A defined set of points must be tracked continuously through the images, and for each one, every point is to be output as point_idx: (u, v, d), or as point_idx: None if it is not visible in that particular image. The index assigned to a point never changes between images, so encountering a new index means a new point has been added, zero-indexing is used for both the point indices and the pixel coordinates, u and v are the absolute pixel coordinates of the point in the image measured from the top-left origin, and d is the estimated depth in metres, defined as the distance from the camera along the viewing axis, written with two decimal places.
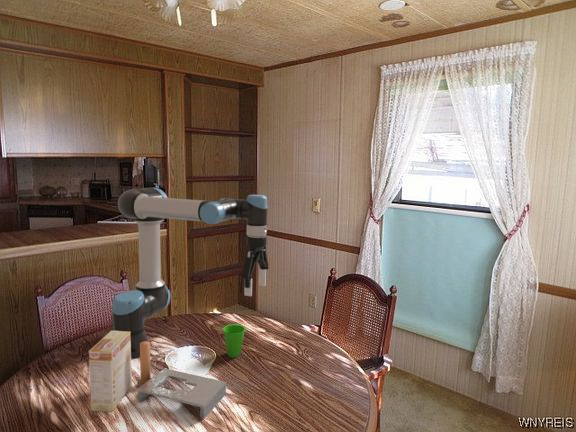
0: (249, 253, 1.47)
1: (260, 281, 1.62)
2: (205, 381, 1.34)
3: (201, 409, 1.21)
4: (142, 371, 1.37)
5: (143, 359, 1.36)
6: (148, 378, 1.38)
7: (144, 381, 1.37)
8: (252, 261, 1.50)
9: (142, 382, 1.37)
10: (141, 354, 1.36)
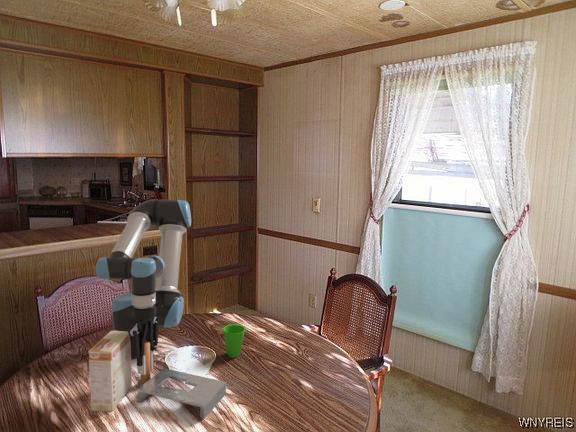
0: (131, 333, 1.30)
1: None
2: (205, 381, 1.34)
3: (201, 409, 1.21)
4: None
5: None
6: (148, 378, 1.38)
7: (144, 381, 1.37)
8: (140, 336, 1.34)
9: (142, 382, 1.37)
10: None
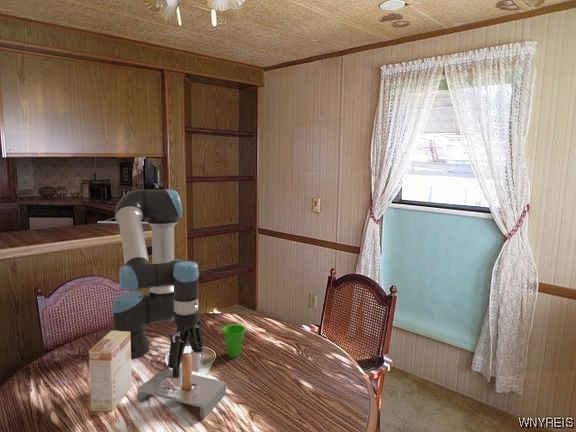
0: (173, 338, 1.22)
1: (192, 366, 1.35)
2: (205, 381, 1.34)
3: (201, 409, 1.21)
4: (183, 385, 1.29)
5: (185, 372, 1.28)
6: None
7: None
8: (180, 344, 1.25)
9: None
10: (183, 367, 1.28)
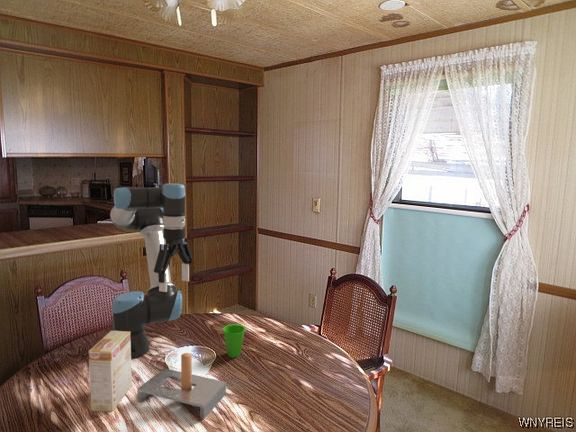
0: (162, 246, 1.37)
1: (183, 276, 1.52)
2: (205, 381, 1.34)
3: (201, 409, 1.21)
4: (183, 385, 1.29)
5: (185, 372, 1.28)
6: None
7: None
8: (168, 254, 1.40)
9: None
10: (183, 367, 1.28)
